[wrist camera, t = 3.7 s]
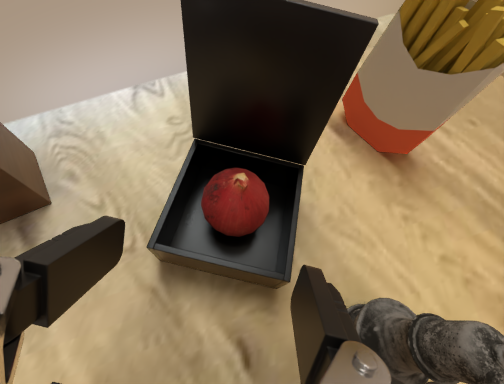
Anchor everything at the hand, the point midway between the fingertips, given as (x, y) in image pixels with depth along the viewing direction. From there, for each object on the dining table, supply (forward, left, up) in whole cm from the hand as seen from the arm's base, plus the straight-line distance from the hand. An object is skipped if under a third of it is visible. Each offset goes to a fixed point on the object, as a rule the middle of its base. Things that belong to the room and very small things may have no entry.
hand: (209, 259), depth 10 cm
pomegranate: (+2, +7, -11) cm, 13 cm away
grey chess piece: (+13, -4, -12) cm, 18 cm away
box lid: (+3, +12, -1) cm, 12 cm away
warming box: (+2, +7, -12) cm, 14 cm away
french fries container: (+21, +20, -12) cm, 31 cm away
